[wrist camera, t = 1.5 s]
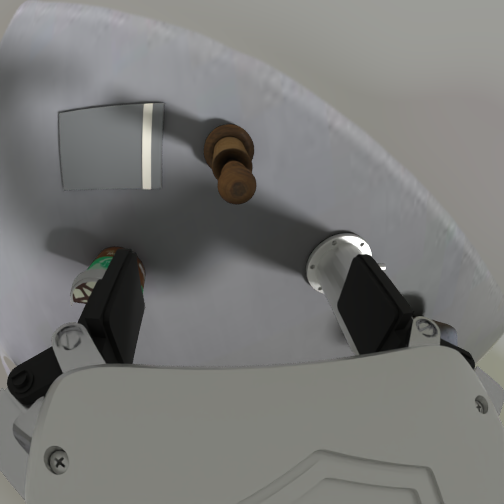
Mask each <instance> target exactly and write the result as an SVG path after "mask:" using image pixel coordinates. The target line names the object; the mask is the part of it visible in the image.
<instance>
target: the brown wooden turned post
mask: <svg viewBox="0 0 504 504" xmlns="http://www.w3.org/2000/svg"><path fill="white" fill-rule="evenodd" d="M253 155H254V145H253V141H252V139H251V137H250V136H249V134H248V133H247V132H246V131H245V130H244V129H243V128H241V127H239V126H236V125H232V124H227V125H222V126H219V127H217V128H215V129H214V130H213V131H212V132H211V133H210V134H209V136H208V137H207V139H206V142H205V145H204V157H205V160H206V162H207V164H208V165H209V167H210V168H211V169H212V171H213V174H214V176H215V178H216V179H217V180H218V191H219V194H220V195H221V197H222V198H223V199H224V200H225V201H227V202H228V203H231V204H242V203H245V202H247V201H248V200H250V199H251V198H252V196H253V195H254V193H255V191H256V180H255V177H254V176H253V174H252V159H253Z"/></svg>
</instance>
